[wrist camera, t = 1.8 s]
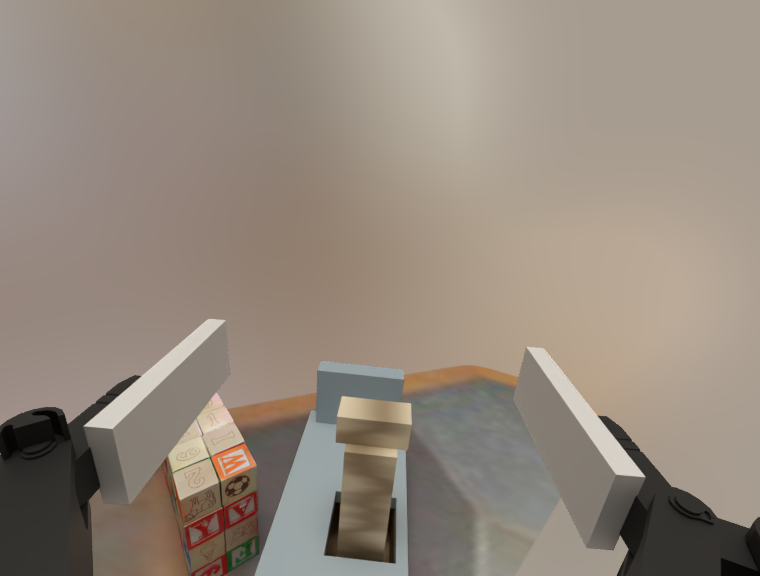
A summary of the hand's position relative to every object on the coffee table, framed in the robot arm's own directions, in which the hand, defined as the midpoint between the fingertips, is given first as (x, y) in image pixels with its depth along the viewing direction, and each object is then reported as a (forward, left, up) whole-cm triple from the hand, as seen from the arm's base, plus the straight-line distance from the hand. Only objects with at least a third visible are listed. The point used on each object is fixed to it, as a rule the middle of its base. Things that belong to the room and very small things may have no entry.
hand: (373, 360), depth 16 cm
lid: (-2, +13, -24) cm, 28 cm away
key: (0, +9, -30) cm, 31 cm away
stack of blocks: (-19, +16, -31) cm, 40 cm away
